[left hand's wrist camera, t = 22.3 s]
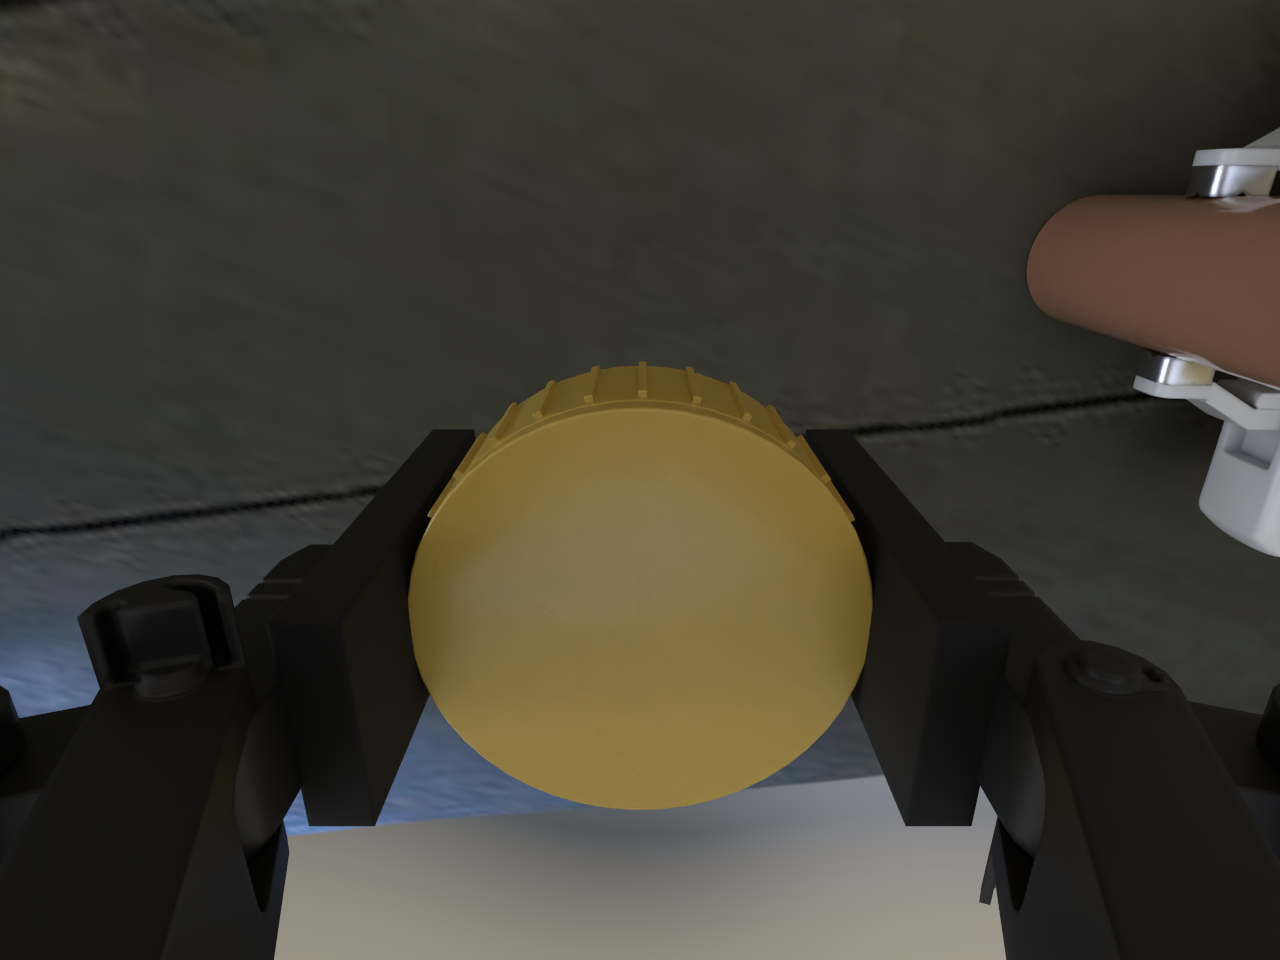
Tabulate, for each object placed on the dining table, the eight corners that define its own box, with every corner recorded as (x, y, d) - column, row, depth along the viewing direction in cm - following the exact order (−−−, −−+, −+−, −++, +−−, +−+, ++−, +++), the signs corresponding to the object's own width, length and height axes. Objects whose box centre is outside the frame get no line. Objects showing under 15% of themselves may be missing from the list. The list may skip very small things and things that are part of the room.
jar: (1062, 177, 31) (1680, 162, 13) (1176, 215, 31) (1927, 252, 13) (1004, 304, 33) (1467, 450, 14) (1113, 337, 33) (1691, 518, 15)
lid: (696, 766, 14) (707, 873, 11) (379, 608, 12) (324, 696, 10) (917, 494, 12) (981, 563, 9) (565, 275, 10) (546, 298, 8)
